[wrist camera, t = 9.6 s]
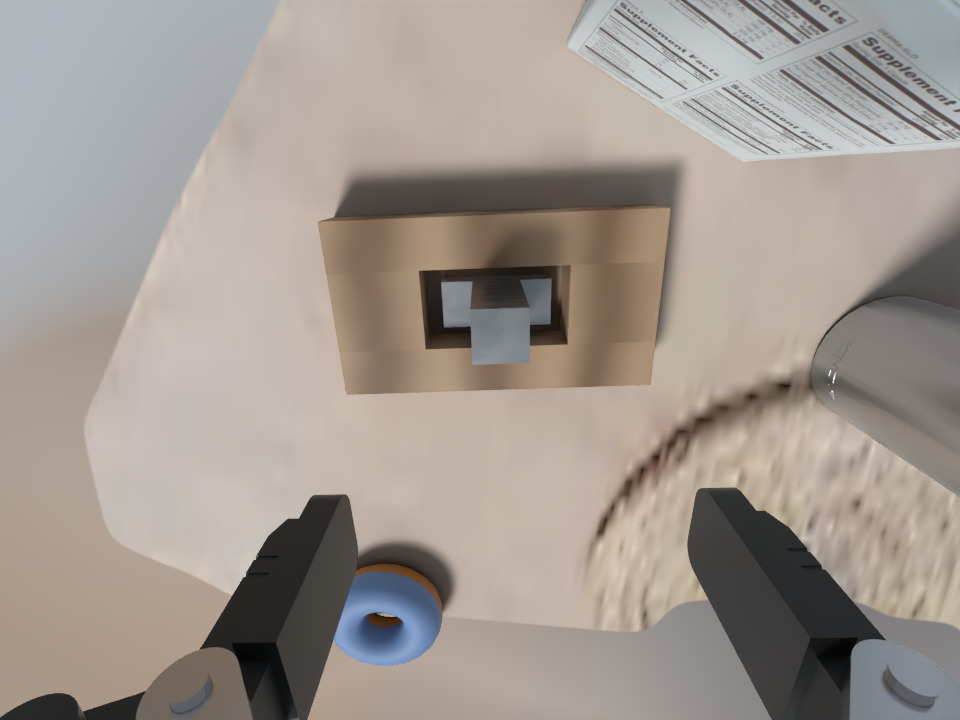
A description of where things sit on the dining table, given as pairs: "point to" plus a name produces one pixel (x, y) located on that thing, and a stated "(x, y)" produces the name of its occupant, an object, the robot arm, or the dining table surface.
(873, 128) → the supplement box
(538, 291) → the grey metal t-block
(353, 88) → the dining table surface
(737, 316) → the dining table surface
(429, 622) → the doughnut
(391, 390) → the frame
